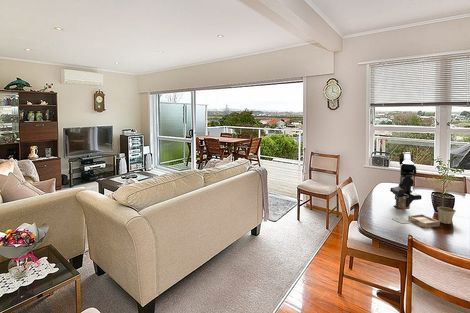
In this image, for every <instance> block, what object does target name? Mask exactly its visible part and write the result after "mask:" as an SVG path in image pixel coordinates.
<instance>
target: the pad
mask: <svg viewBox="0 0 470 313" xmlns="http://www.w3.org/2000/svg"><path fill="white" fill-rule="evenodd" d="M392 220H394V221H395V222H398V223H400V224H401V225H405V224H406V225H407V224H414V223H413V222H411V221H409V220H408V218H405V217H394V218H392Z"/></svg>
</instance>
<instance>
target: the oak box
mask: <svg viewBox="0 0 470 313" xmlns="http://www.w3.org/2000/svg"><path fill="white" fill-rule="evenodd" d="M407 220H409V221H411V222H413V223H412V224H416V225H417V226H419V227H422V228H424V229H425V228H426V229H427V228H434V227H440V224H441V222H440V221H439V220H437V219H435V218H432V217H430V216H428V215H426V214H423V213H422V214H414V215H408V218H407Z"/></svg>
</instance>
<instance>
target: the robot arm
mask: <svg viewBox="0 0 470 313" xmlns="http://www.w3.org/2000/svg"><path fill="white" fill-rule="evenodd" d="M413 161H414V155H413V154H412V152H410V151H409V152H407V151H406V152H405V151H403V152H402V153H400V154H399V155H398V163H399V165H400V174H399V175H400V177H399V184H398V186H393V187H391V188H390V190H389V191H390V192H391V193H392V194H393V195H394V200H395V205H393V207H394V208H397V209H399V210H402V209H401V208H399V207H398V201H399V197H404V196H405V199H406V207H408V206H409V205H410V206H411V204H412V203H413V202H414V201H418V200H419V201H420V200H422V195H421V194H419V193H416V192H415V193H413V190H412V187H414V179H413V176H414V177H416V175H417V167H416V165H415V162H413Z"/></svg>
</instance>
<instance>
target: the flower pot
mask: <svg viewBox="0 0 470 313" xmlns="http://www.w3.org/2000/svg"><path fill="white" fill-rule="evenodd" d="M436 209H437V214H438V221H440V224H441V223H442V224H445V225H446V224H448V225H450V224H452V221H453V217H454V215H455V213H456V211H457V210H456V209H454V208H451V207H447V206H446V207H445V206H438V207H436Z"/></svg>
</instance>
